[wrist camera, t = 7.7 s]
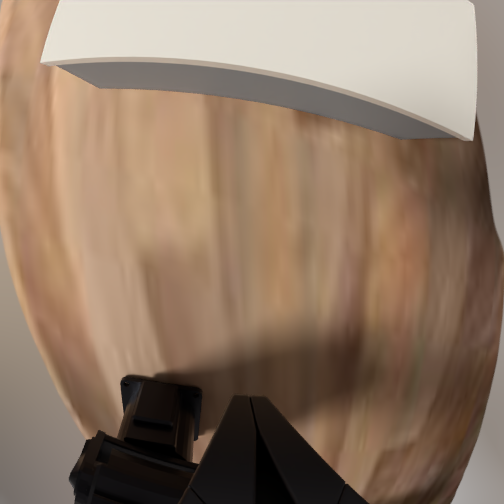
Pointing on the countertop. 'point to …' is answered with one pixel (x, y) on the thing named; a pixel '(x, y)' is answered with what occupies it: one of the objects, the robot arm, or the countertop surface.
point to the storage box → (253, 93)
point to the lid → (295, 46)
